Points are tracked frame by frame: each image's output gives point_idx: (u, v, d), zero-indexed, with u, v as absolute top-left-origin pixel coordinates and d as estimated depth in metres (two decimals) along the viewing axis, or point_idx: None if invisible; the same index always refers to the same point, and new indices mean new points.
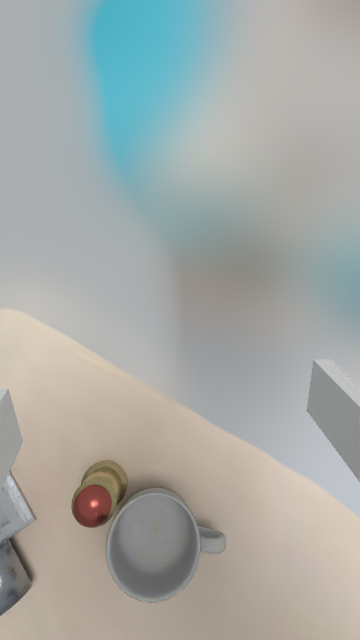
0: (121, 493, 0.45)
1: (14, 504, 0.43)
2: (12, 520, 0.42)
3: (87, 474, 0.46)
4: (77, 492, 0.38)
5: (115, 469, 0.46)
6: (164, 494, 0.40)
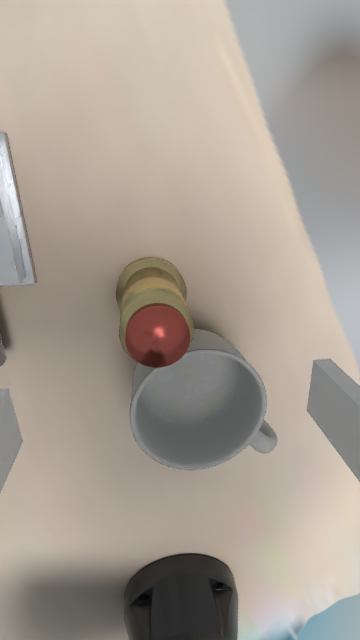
0: None
1: (12, 247, 0.25)
2: (3, 269, 0.25)
3: (137, 266, 0.28)
4: (141, 303, 0.21)
5: (178, 282, 0.29)
6: (249, 365, 0.25)
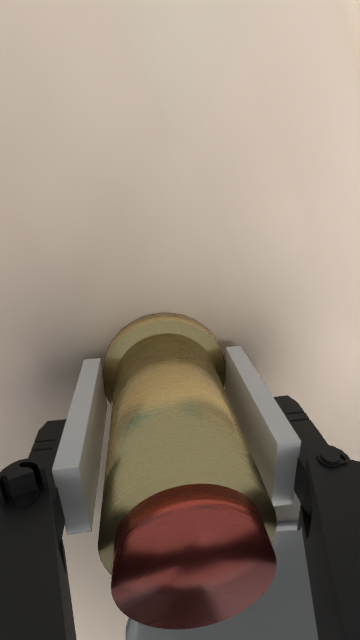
0: None
1: None
2: None
3: (140, 333, 0.15)
4: (152, 488, 0.08)
5: (213, 358, 0.16)
6: None
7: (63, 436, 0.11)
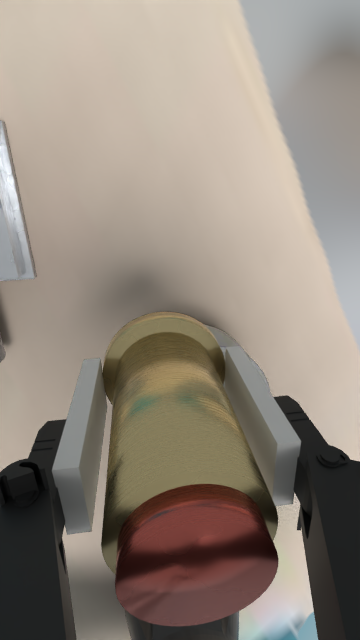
0: None
1: (11, 241, 0.24)
2: (1, 263, 0.25)
3: (140, 332, 0.15)
4: (155, 489, 0.08)
5: (213, 356, 0.16)
6: (252, 362, 0.25)
7: (63, 436, 0.11)
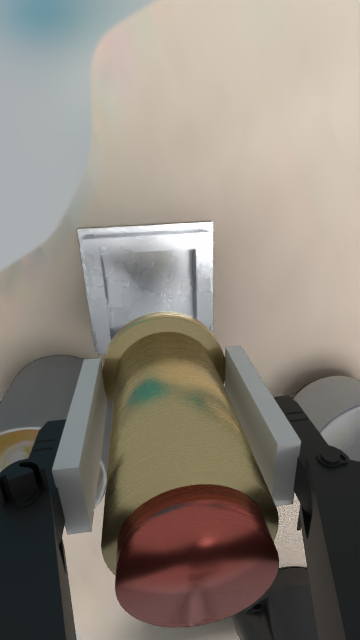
0: None
1: (210, 316, 0.29)
2: None
3: (140, 332, 0.15)
4: (155, 490, 0.08)
5: (213, 356, 0.16)
6: None
7: (63, 436, 0.11)
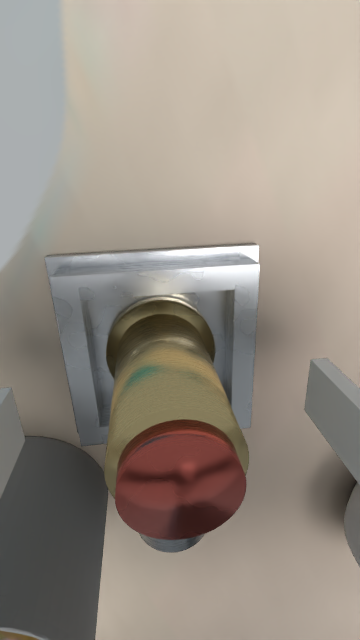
0: None
1: (251, 386, 0.19)
2: (235, 412, 0.20)
3: (138, 314, 0.17)
4: (147, 422, 0.10)
5: (204, 336, 0.18)
6: None
7: None
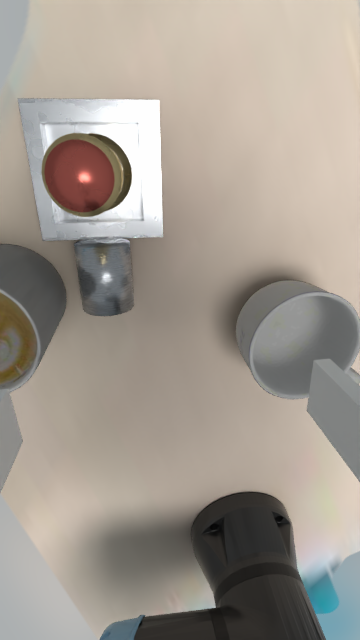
0: (115, 200, 0.29)
1: (156, 202, 0.29)
2: (147, 221, 0.29)
3: None
4: (62, 140, 0.20)
5: (123, 162, 0.28)
6: (352, 307, 0.30)
7: None
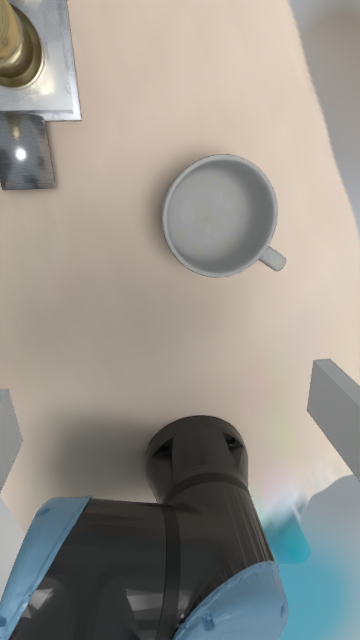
0: (26, 74, 0.30)
1: (66, 74, 0.30)
2: (58, 94, 0.30)
3: None
4: None
5: (30, 31, 0.29)
6: (263, 173, 0.30)
7: None
